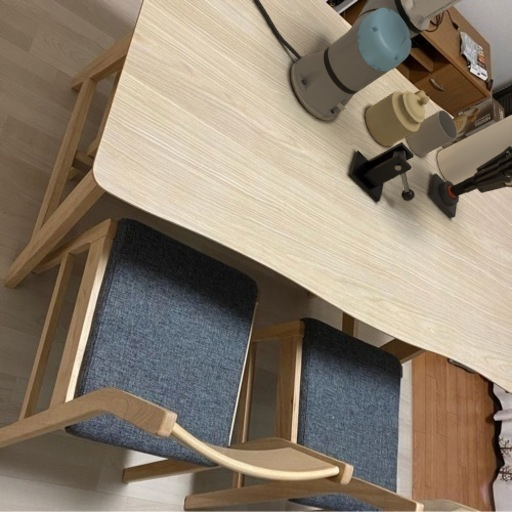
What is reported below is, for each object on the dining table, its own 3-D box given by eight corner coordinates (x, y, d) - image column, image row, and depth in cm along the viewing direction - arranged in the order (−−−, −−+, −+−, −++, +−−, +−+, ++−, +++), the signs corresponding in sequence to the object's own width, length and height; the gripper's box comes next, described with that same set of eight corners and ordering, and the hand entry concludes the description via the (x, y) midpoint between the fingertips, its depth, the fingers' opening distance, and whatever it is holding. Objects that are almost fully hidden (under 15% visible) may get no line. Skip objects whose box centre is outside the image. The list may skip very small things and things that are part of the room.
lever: (403, 195, 137) (416, 194, 136) (401, 204, 135) (414, 203, 134) (393, 150, 128) (406, 149, 126) (391, 159, 126) (404, 158, 125)
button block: (427, 196, 150) (439, 190, 148) (431, 175, 155) (442, 170, 153) (450, 218, 154) (461, 214, 152) (452, 198, 159) (463, 193, 156)
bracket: (381, 179, 138) (422, 158, 130) (376, 202, 134) (418, 182, 125) (354, 152, 134) (395, 129, 126) (348, 175, 130) (389, 152, 121)
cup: (425, 161, 155) (457, 145, 148) (406, 145, 151) (438, 128, 144) (425, 138, 160) (456, 121, 152) (406, 122, 155) (438, 104, 148)
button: (442, 194, 151) (448, 192, 150) (443, 185, 154) (449, 182, 152) (450, 203, 153) (456, 200, 152) (451, 193, 155) (457, 191, 154)
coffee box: (455, 157, 168) (506, 132, 157) (442, 146, 165) (493, 119, 153) (454, 134, 173) (504, 108, 161) (441, 122, 169) (492, 95, 158)
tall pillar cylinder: (434, 165, 158) (521, 123, 140) (440, 143, 165) (524, 100, 147) (456, 192, 161) (544, 154, 144) (461, 169, 168) (546, 130, 150)
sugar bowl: (366, 88, 147) (415, 56, 137) (394, 112, 153) (442, 82, 142) (363, 131, 140) (414, 101, 129) (392, 154, 145) (443, 127, 135)
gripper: (549, 181, 133) (460, 217, 150) (549, 145, 140) (463, 183, 157) (532, 161, 130) (443, 200, 147) (532, 125, 137) (447, 166, 154)
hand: (453, 191), depth 152 cm, fingers closed
